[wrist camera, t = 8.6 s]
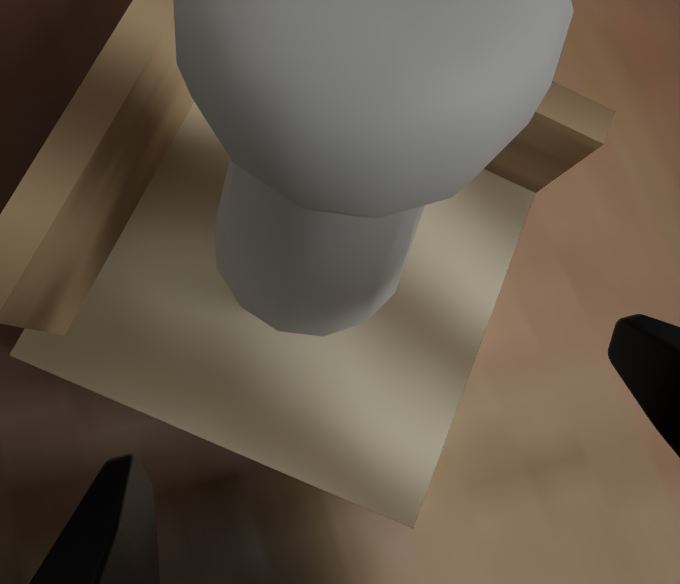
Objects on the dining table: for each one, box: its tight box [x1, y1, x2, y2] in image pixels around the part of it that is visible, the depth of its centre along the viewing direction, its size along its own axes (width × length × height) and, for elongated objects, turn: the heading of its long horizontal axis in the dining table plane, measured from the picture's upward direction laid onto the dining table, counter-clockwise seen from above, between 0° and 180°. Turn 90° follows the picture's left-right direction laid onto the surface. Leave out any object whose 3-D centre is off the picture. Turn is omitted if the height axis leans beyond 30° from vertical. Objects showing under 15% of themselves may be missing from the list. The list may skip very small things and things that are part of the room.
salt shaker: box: [173, 0, 573, 337], centre depth 11 cm, size 6×6×13 cm
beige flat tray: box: [0, 0, 615, 528], centre depth 16 cm, size 14×14×5 cm
